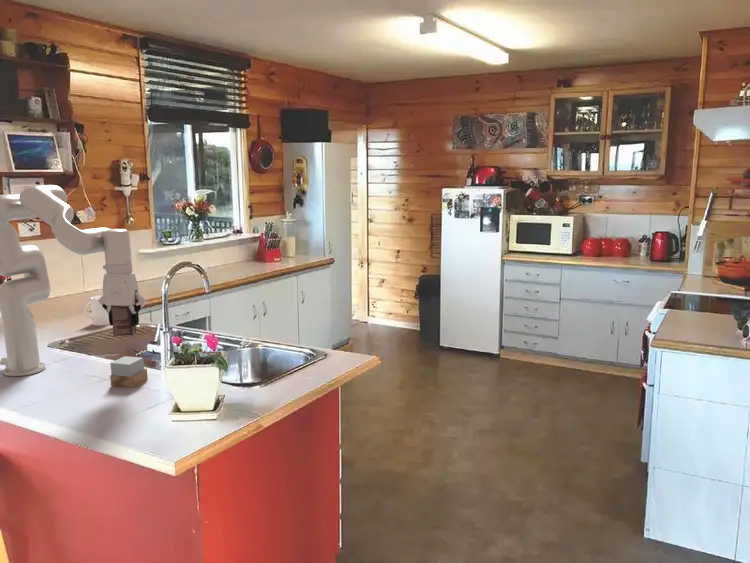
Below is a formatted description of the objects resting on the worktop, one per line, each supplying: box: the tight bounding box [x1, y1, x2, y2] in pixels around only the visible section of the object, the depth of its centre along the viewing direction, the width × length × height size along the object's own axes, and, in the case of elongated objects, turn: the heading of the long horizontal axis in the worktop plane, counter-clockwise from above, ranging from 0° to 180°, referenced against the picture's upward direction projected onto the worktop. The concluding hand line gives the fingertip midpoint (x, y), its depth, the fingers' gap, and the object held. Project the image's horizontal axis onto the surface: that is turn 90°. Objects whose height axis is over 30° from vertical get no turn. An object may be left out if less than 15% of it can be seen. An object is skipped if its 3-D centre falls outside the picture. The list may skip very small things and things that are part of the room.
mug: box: [83, 294, 110, 327], centre depth 277 cm, size 12×8×12 cm
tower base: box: [109, 367, 149, 389], centre depth 203 cm, size 8×8×4 cm
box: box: [111, 305, 137, 337], centre depth 199 cm, size 6×4×12 cm
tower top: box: [109, 355, 145, 377], centre depth 202 cm, size 7×7×4 cm
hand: (124, 324), depth 199 cm, fingers closed on box, 6 cm apart
